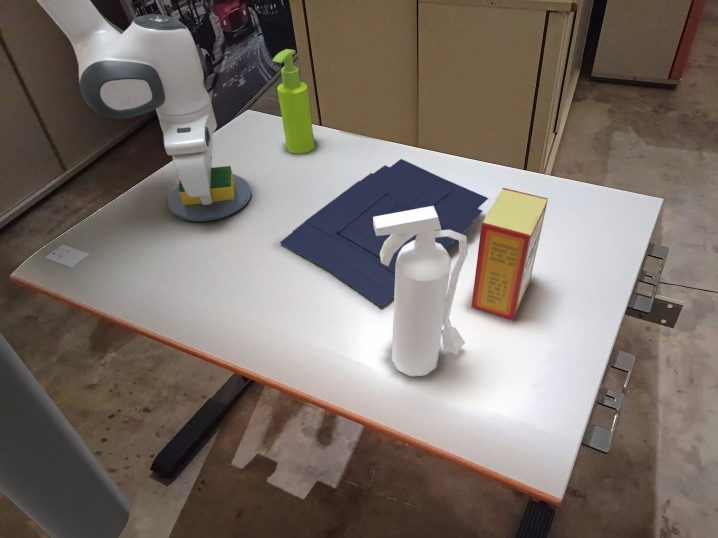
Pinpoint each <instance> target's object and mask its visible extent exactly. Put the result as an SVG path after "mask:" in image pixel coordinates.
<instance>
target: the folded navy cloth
mask: <svg viewBox="0 0 718 538" xmlns="http://www.w3.org/2000/svg"><path fill="white" fill-rule="evenodd" d="M487 200H489V197H487V196H485V195H482V194H480V193H477V192H475V191H473V190H471V189H469V188H467V187H464V186H461V185H460V184H457V183H455V182H453V181H450V180H448V179H446V178H444V177H442V176H440V175H437V174H435V173H433V172H430V171H429V170H426V169H424V168H422V167H420V166H417V165H416V164H413V163H412V162H410V161H407V160H404V159H402V158H400V159H399V160H397V161H396V162H395V163H394V164H392V165H390V166H388V165H386V164H385V165H383V166H381V167H380V168H379V169H377V170H376V171H374V172H373V173H372V172H370V173H369V174H368V175H366V176H365V177H363V178H362V179H361V180H358V181H357V182H355V183H354V184H352V186H350V187H349V188H347V189H346V190H344V191H343V192H342V193H341V194H339V195H338V196H337V197H335V198H334V199H333V200H331V201H329V202H328V203H327V204H326V205H324V206H323V207H322V208H320V209H319V210H318V211H316V212H315V213H313V214H312V215H311V216H310V217H308V218H307V219H305V221H303V222H302V223H301V224H300V225H299V226H298V227H296V228H295V229H294V230H292V232H291V233H290V234H288V235H287V236H286V237H285V238H283V239H282V240H281V241H280V242H279V244H280V245H282V246H284V247H286V248H288V249H290V250H292V251H293V252H295V253H297V254H298V255H300V256H301V257H303V258H305V259H307V260H309V261H310V262H312V263H314V264H316V265H317V266H319V267H321V268H323V269H324V270H327V271H328V272H329V273H332V275H334V276H336V277H337V278H338V279H340V280H341V281H343V282H344V283H346V284H347V285H349V287H351V288H353V289H354V290H356V291H357V292H358V293H360V294H361V295H363V296H364V297H365V298H367V299H369V300H370V301H372V302H373V303H375V305H377V306H379V307H380V308H382V307H384V306H385V305H386V304H388V303H389V301H391V300H392V299H394V291H395V266H396V261H397V257H398V254H399V252H400V250H401V249H402V247H403V246H405V245H406V244H408V243H410V242H411V241H413V240H415V239H416V235H417V234H416V235H414V236H413V237H412V238H410V239H409V240H407V241H406V242H405V243H404V244H403V245H402V246H401V247H400V248H399V249H398V250H397V251H396V252H395V253H394V255H393V257H392V259H391V261H390V263H389V265H388V266H386V265H384V264H382V263H381V259H380V251H381V249H382V246H383V244H384V242H385V241H386V240H387V239H388V238H389V236H390V235H380V236H376V233H375V229H374V226H373V217H375V216H381V215H386V214H392V213H397V212H403V211H408V210H413V209H419V208H424V207H430V206H434V208H435V211H436V213H437V216H438V219H439V223H440V226H441V230H452V231H455V232H457V233H460V234H462V235H464V233H465V232H466V231H467V230H468V229H469V228H470V227H472V226H473V224H474V223H475V220H476V219H477V218H478V217H479V216H480V215H481V214H482V213H483V212H484V210H482V209H480V207H481V206H482V205H483V204H484V203H485V202H486V201H487ZM434 231H439V230H434ZM455 241H457V240H456V239H453V238H450V237H437V238H435V242H436V243H439V244H441V245H442V246H443V247H444V249H445V250H447V249H448V248H449V247H450V246H451V245H452V244H454V242H455Z"/></svg>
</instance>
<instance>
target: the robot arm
mask: <svg viewBox="0 0 718 538" xmlns="http://www.w3.org/2000/svg"><path fill="white" fill-rule="evenodd" d="M36 2H37V3H38V4H39V5H40V6H41V7H42V9H44V11H45V12H46V13H47V15H49V17H50V18H51V19H52V20H53V22H54V23H55V24H56V26H58V28H59V29H60V30H61V31H62V32H63V34H65V36H66V37H67V38H68V40H69V42H70V44H71V47H72V48H73V51H74V55H75V58H76V61H77V65H78V81H79V91H80V93H81V96H82V98H83V100H84V101H85V103H86V104H87V105H88V106H89V107H90V108H91V110H93V111H94V112H96V113H97V114H99V115H101V116H102V117H105V118H108V119H112V120H127V119H132V118H134V117H137V116H141V115H144V114H146V113H149V112H152V111H154V110H155V112H156V114H157V117H158V120H159V126H160V128H161V132H162V137H163V146H164V151H165V153H166V154H167V155H168V156H171V157H172V158H171V159H172V162H173V165H174V168H175V171H176V173H177V175H178V178H179V182H180V181H181V183H182V185H183V188H184V190H185V192H186V193H187V195H188V196H190V197H200V199H201V202H202V204H203V205H208V204H212V196H211V192H210V182H211V168H213V165H212V162H213V148H214V139H213V134H214V132H215V131H216V130H217V127H218V124H217V123H218V122H217V120H216V116H215V113H214V108H213V104H212V101H211V97H210V95H209V93H208V91H207V89H206V86H205V75H204V69H203V64H202V62H201V59H200V55H199V52H198V48H197V45H196V43H195V40H194V38H193V35H192V34H191V32H190V30H189V29H188V27H187V26H186V25H185V24H184V23H183V22H182V21H180V20H178V18H176V17H172V16H168V15H164V14H154V13H153V14H144V15H139V16H137V17H135V18H134V19H133V20H132V22H131V23H130V25H129V26H128V27H127V28H126V29H125V30H123V29H121V28H120V27H119V26H117V25H115V24H113V23H112V22H111V21H109V20H108V19H107V18H106V17H105V16H104V15H103V14H102V13H101V12H100V10H99V9H98V8H97V7H96V5H95V4H94V3H93V2H92V0H36Z"/></svg>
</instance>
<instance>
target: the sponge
mask: <svg viewBox="0 0 718 538" xmlns="http://www.w3.org/2000/svg"><path fill="white" fill-rule="evenodd" d="M178 185H179V192H180V195H181V198H182V201H183V204H184V205H191V204H200V203H202V202H201V199H200V197H190V196H188V195H187V193H186V192H185V190H184V188H183V185H182V183H181V181H180V180H179V182H178ZM210 192H211V196H212V202H217V201H225V200H233V199H234V178H233V171H232V167H231V165H223V166H216V167H212V168H211V182H210Z"/></svg>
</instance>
